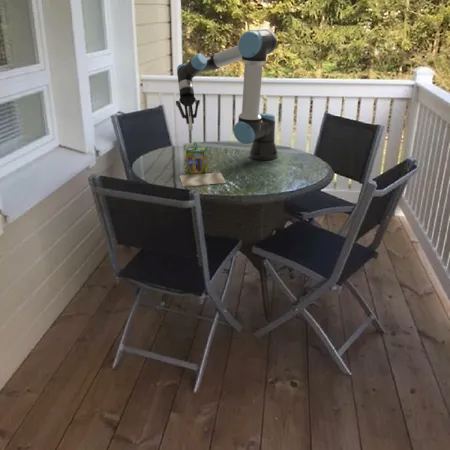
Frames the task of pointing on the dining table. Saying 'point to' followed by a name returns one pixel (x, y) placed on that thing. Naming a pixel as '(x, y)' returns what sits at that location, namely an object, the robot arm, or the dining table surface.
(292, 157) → the dining table surface
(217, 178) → the board
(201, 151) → the chalk box
